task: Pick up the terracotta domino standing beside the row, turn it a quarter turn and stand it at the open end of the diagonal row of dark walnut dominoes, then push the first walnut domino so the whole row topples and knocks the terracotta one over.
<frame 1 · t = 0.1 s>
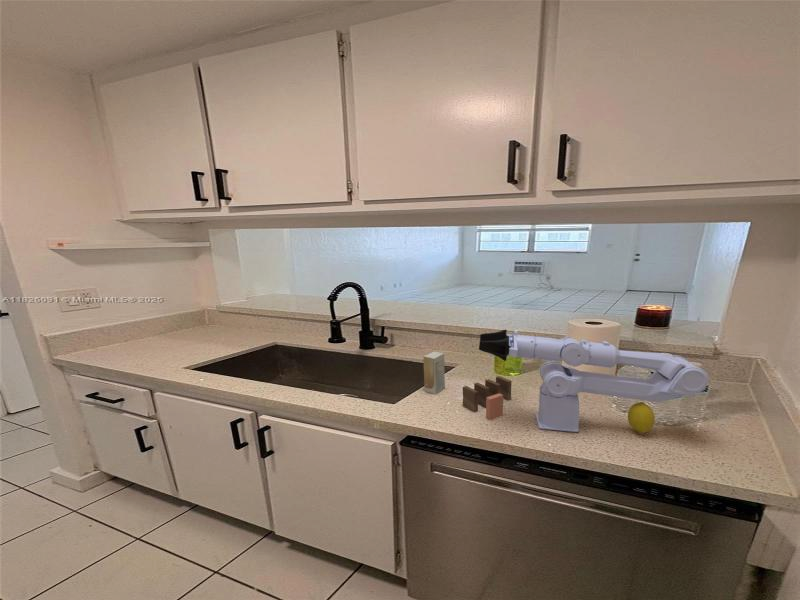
hand: (479, 341, 97), 22 cm above the worktop, tool horizontal, fingers open, 7 cm apart
domino 4: (470, 408, 106), on the worktop
lemon: (639, 433, 91), on the worktop
domino 1: (503, 397, 113), on the worktop
domino 2: (492, 400, 111), on the worktop
skincare box: (434, 390, 120), on the worktop
domino 3: (481, 404, 108), on the worktop
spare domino: (494, 416, 101), on the worktop
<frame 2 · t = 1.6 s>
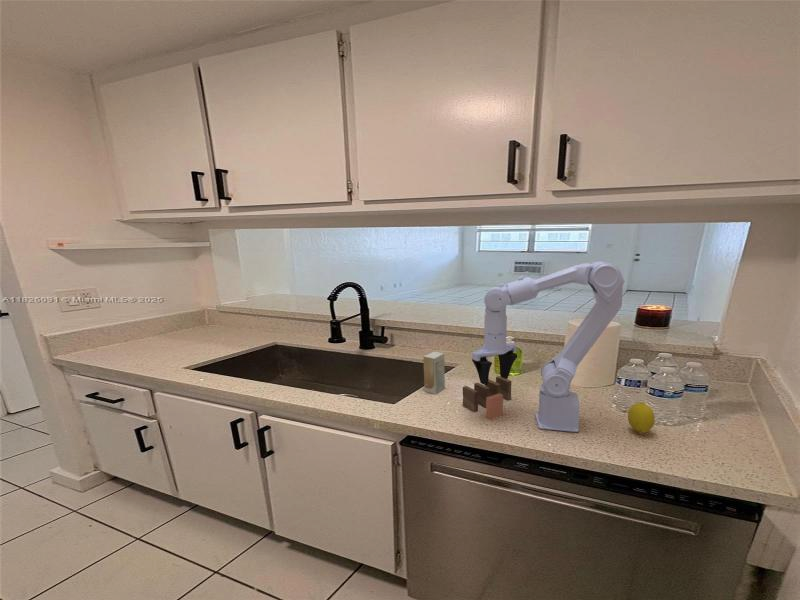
hand: (494, 380, 99), 10 cm above the worktop, tool pointing down, fingers open, 7 cm apart
nothing on the worktop moved.
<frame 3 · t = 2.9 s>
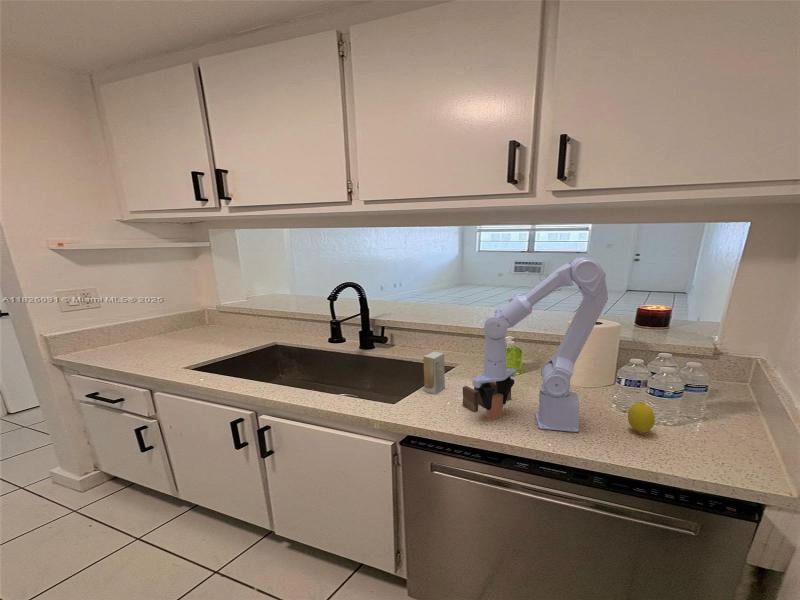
hand: (494, 405, 100), 3 cm above the worktop, tool pointing down, fingers closed on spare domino, 5 cm apart
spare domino: (494, 416, 101), on the worktop, touching gripper
everything else where it was.
when the fingers open (4 cm above the worktop, at t = 6.6 s): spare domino drops 1 cm, on the worktop.
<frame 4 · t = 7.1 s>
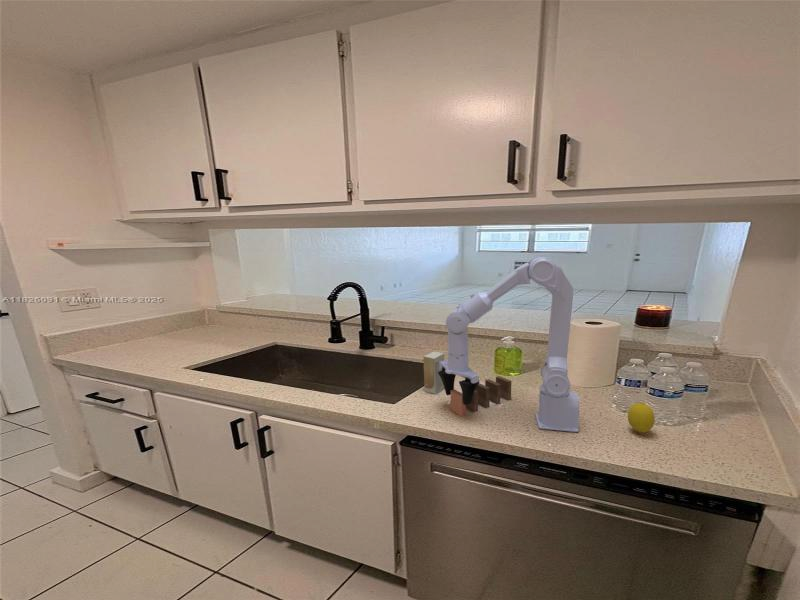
hand: (458, 399, 103), 4 cm above the worktop, tool pointing down, fingers open, 7 cm apart
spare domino: (458, 412, 104), on the worktop
everything else where it was.
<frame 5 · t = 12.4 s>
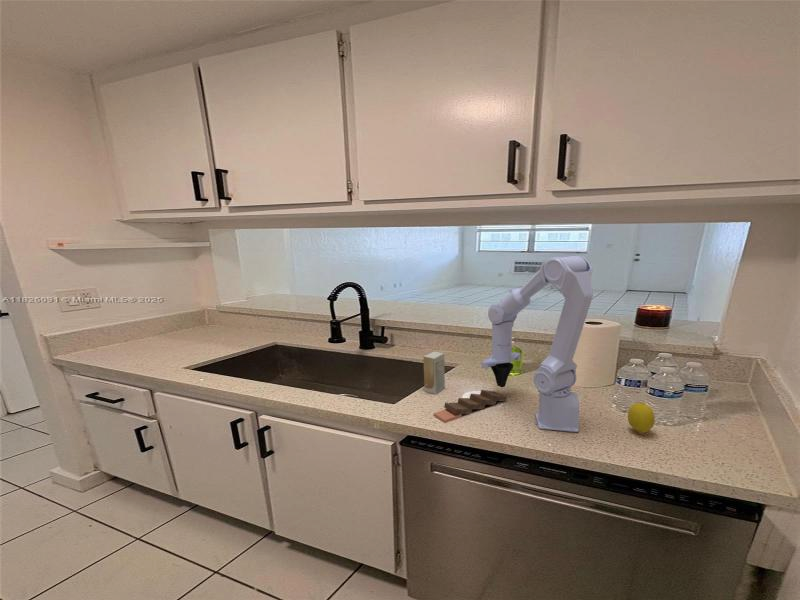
hand: (501, 385, 112), 4 cm above the worktop, tool pointing down, fingers closed
domino 4: (466, 408, 105), point 1 cm above the worktop, tilted 75°, touching domino 3, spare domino
domino 1: (500, 396, 112), point 1 cm above the worktop, tilted 72°, touching domino 2
domino 2: (490, 399, 110), point 1 cm above the worktop, tilted 72°, touching domino 1
domino 3: (478, 403, 108), point 1 cm above the worktop, tilted 75°, touching domino 4
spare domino: (455, 413, 103), on the worktop, tilted 90°, touching domino 4
everything else where it was.
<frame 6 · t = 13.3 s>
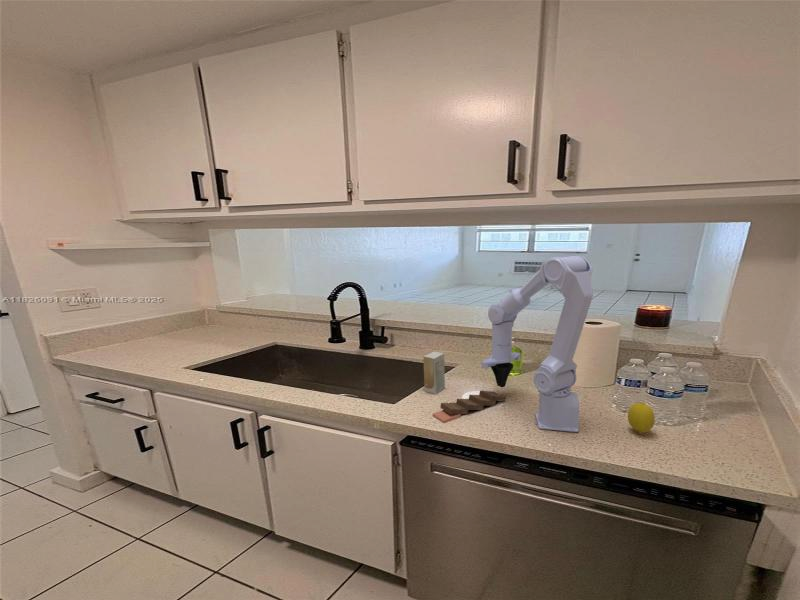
hand: (501, 385, 112), 4 cm above the worktop, tool pointing down, fingers closed
domino 4: (462, 408, 105), point 1 cm above the worktop, tilted 77°, touching domino 3, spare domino
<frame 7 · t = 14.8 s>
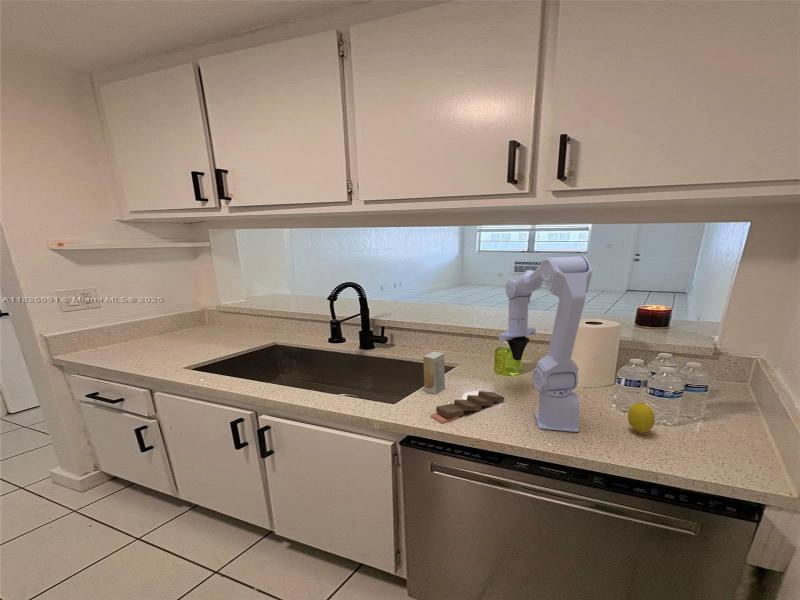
hand: (517, 359, 116), 10 cm above the worktop, tool pointing down, fingers closed
domino 4: (457, 409, 104), point 1 cm above the worktop, tilted 82°, touching domino 3, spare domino
domino 2: (487, 400, 109), point 1 cm above the worktop, tilted 74°, touching domino 1, domino 3
domino 3: (474, 405, 107), point 1 cm above the worktop, tilted 73°, touching domino 2, domino 4
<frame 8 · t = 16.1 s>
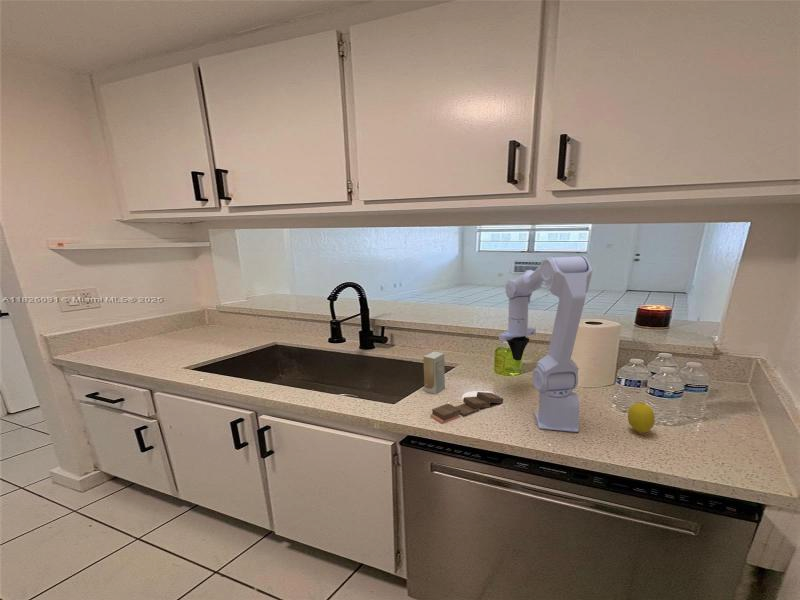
hand: (517, 359, 116), 10 cm above the worktop, tool pointing down, fingers closed
domino 4: (454, 408, 103), point 1 cm above the worktop, tilted 90°, touching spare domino
domino 1: (496, 398, 111), point 1 cm above the worktop, tilted 73°, touching domino 2
domino 2: (484, 401, 109), point 1 cm above the worktop, tilted 80°, touching domino 1, domino 3
domino 3: (473, 407, 106), on the worktop, tilted 90°, touching domino 2
at the end: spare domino tilted 90°; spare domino inside the target area (0.9 cm from its centre), on the worktop; domino 1 tilted 73° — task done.
